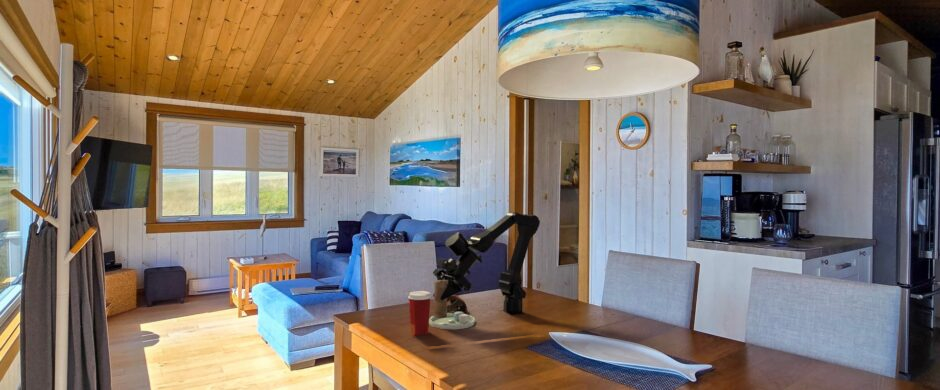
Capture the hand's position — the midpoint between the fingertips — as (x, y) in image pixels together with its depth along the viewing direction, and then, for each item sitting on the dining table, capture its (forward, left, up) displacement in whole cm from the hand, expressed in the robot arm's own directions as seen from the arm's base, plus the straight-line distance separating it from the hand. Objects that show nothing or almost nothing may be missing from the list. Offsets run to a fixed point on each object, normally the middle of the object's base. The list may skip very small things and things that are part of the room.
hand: (437, 298), depth 175 cm
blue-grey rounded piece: (-9, -3, -9) cm, 13 cm away
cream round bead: (-10, +1, -9) cm, 13 cm away
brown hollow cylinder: (-12, -14, -10) cm, 21 cm away
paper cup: (+8, +7, -10) cm, 15 cm away
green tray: (-6, 0, -10) cm, 11 cm away
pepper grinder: (-1, 0, -7) cm, 7 cm away
